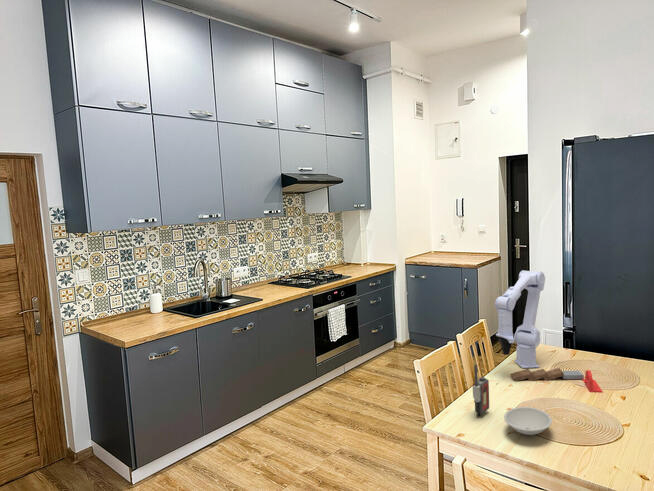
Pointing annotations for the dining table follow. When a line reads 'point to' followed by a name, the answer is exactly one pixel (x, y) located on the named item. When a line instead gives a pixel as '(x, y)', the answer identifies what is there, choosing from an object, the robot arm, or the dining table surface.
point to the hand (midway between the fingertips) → (506, 354)
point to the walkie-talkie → (480, 393)
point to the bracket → (591, 383)
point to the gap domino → (572, 375)
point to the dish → (527, 420)
